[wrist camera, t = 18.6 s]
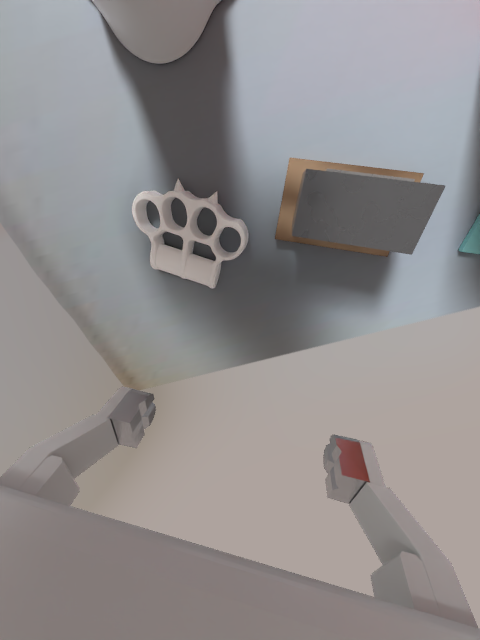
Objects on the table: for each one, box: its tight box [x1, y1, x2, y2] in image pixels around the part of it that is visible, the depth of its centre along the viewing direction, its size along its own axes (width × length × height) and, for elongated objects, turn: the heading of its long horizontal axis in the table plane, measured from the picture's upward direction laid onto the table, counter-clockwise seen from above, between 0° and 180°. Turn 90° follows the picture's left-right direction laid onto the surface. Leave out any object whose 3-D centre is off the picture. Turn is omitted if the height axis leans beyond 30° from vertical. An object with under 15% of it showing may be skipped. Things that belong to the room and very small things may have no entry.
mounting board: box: [275, 158, 424, 257], centre depth 32 cm, size 10×16×2 cm, turn 84°
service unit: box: [292, 169, 445, 254], centre depth 27 cm, size 7×12×10 cm, turn 84°
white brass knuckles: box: [132, 179, 249, 288], centre depth 37 cm, size 3×18×15 cm
